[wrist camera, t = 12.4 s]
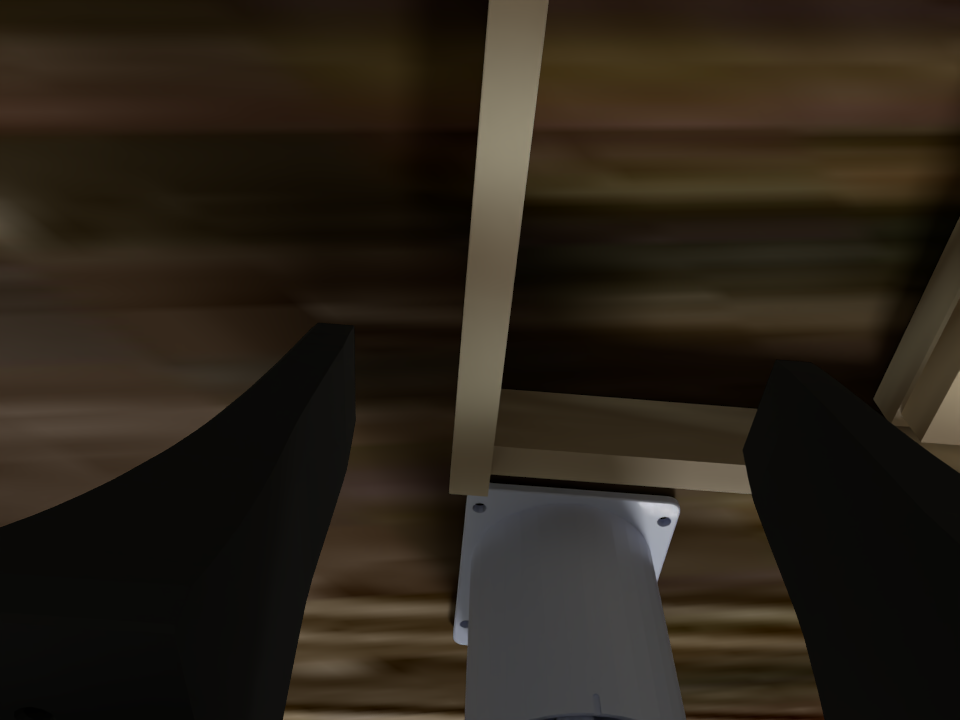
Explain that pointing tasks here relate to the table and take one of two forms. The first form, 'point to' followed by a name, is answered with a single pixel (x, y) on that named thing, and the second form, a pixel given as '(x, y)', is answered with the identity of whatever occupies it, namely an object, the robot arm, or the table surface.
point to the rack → (619, 421)
